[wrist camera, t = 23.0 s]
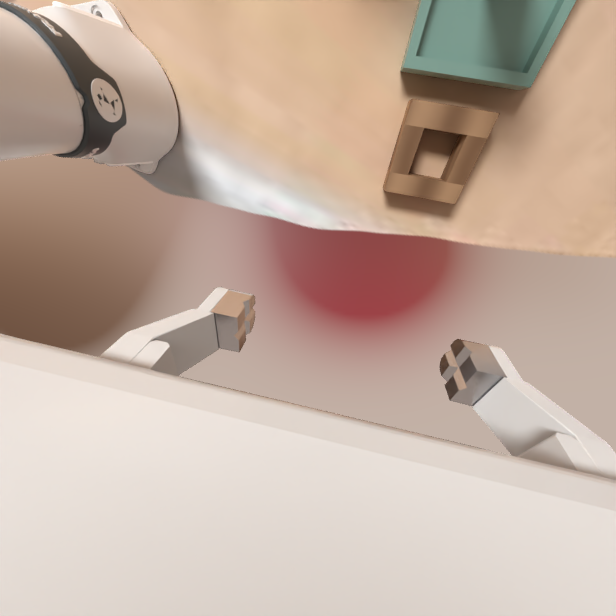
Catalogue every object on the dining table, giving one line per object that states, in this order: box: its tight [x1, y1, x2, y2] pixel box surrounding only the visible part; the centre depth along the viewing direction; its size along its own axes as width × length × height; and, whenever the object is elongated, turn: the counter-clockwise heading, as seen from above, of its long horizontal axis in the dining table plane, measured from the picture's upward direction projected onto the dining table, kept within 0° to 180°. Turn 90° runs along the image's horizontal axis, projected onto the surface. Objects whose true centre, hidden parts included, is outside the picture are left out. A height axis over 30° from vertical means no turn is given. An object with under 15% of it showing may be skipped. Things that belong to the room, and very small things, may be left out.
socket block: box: [383, 99, 500, 204], centre depth 32 cm, size 10×10×3 cm
